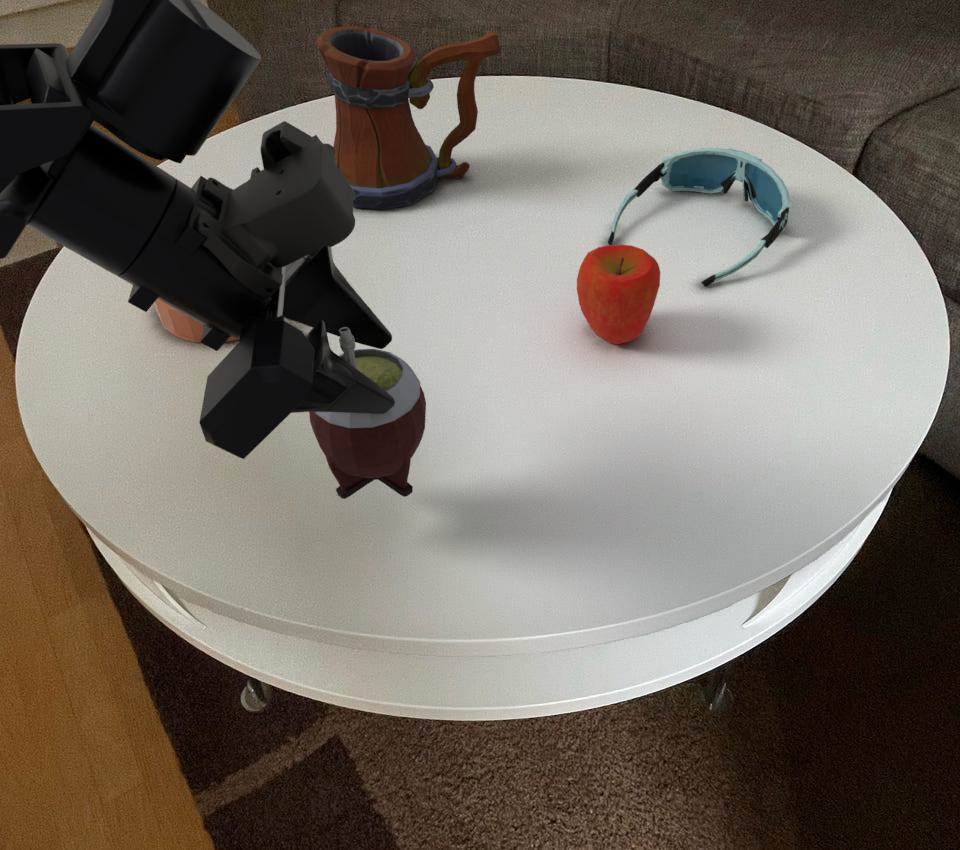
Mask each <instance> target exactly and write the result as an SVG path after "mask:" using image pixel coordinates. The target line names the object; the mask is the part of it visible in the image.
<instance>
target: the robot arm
mask: <svg viewBox="0 0 960 850" xmlns="http://www.w3.org/2000/svg"><path fill="white" fill-rule="evenodd" d="M262 60H263V58H262V56H261V54H260V53H259V52H258V51H257V49H255V47H254V46H253V45H252V44H251V43H250V42H249V41H248V40H247V39H246V38H244V37H243V36H242V35H241V34H240V33H239V31H237V30H236V29H235V28H234V27H232V26H231V25H230V24H229V23H227V22H226V21H225V20H224V19H223V18H222V17H220V16H219V15H218V14H217V13H216V12H214V11H213V10H212V9H210V8H209V7H208V6H206V5H205V4H204V3H203V2H201V0H102V1H101V3H100V5H99V7H98V9H97V10H96V12H95V13H94V14H93V17H92V18H91V20H90V22H89V23H88V25H87V27H86V28H85V30H84V31H83V32H82V34H81V36H80V38H79V39H78V41H77V43H76V44H75V46H74V48H73V49H72V51H71V52H70V53H69V51H68V48H67V47H66V46H65V45H64V44H63V43H57V42H56V43H55V42H54V43H51V42H50V43H46V42H45V43H9V44H5V43H4V44H0V260H3V259H5V258H6V257H7V256H8V255H9V254H10V252H11V251H12V249H13V248H14V246H15V244H16V243H17V241H18V239H19V238H20V237H21V235H22V234H23V232H24V231H25V229H26V227H29V228H31V229H32V230H34V231H36V232H38V233H40V234H41V235H43V236H45V237H47V238H48V239H50V240H52V241H54V242H56V243H58V244H59V245H61V246H63V247H64V248H66V249H68V250H70V251H71V252H73V253H75V254H77V255H78V256H81V257H82V258H84V259H86V260H88V261H89V262H91V263H93V264H94V265H96V266H98V267H99V268H102V269H104V270H105V271H106V272H109V273H110V274H112V275H114V276H116V277H118V278H119V279H121V280H123V281H124V282H127V283H128V284H130V285H132V286H131V290H130V294H129V297H128V300H127V303H128V304H130V305H132V306H134V307H136V308H138V309H139V310H141V311H143V312H145V313H147V312H148V311H149V310H150V308H151V307H152V306H153V305H154V304H153V303H154V302H155V301H156V300H157V299H158V300H160V301H162V302H164V303H166V304H167V305H169V306H171V307H173V308H174V309H176V310H178V311H180V312H182V313H183V314H185V315H187V316H189V317H190V318H192V319H194V320H196V321H198V322H199V323H201V324H203V325H204V326H203V331H202V336H201V341H200V342H201V343H200V344H203V345H204V346H206V347H208V348H210V349H212V350H214V351H216V352H218V351H219V350H220V349H221V348H222V347H223V346H224V344H225V343H227V342H226V341H227V340H228V339H229V338H230V336H232V337H234V338H236V339H237V338H239V337H240V339H238V342H237V343H236V345H235V346H234V347H233V348H232V349H231V350H230V352H228V353H227V355H226V356H224V358H223V359H222V360H221V361H220V362H219V363H218V364H217V365H216V367H214V368H213V370H212V371H211V372H210V373H209V374H208V375H207V376H206V377H207V378H206V383H205V387H204V395H203V399H202V405H201V406H202V407H201V409H200V415H199V416H200V417H199V422H198V423H199V425H200V426H199V427H200V428H201V431H202V434H203V437H204V440H205V442H206V443H208V444H211V445H212V446H214V447H217V448H219V449H221V450H222V451H225V452H227V453H229V454H231V455H233V456H235V457H237V458H239V459H242V460H245V459H246V458H247V457H248V456H249V455H250V454H251V453H252V452H253V451H254V450H255V449H256V448H257V447H258V446H259V445H260V444H261V443H262V442H263V441H264V440H265V439H266V438H267V437H269V435H270V434H271V433H273V432H274V430H275V429H276V428H277V427H278V426H279V425H280V424H281V423H282V422H283V421H285V419H287V418H288V416H290V415H291V414H297V413H309V412H341V413H368V414H385V413H386V412H388V411H389V410H390V409H391V408H392V407H393V406H394V405H395V399H394V398H393V397H392V396H391V395H390V394H389V393H387V392H386V391H385V390H384V389H383V388H382V387H380V386H379V385H378V384H377V383H375V382H374V381H373V380H371V379H370V378H368V377H367V376H366V375H364V374H363V373H361V372H360V371H359V370H357V369H356V368H355V367H353V366H352V365H350V364H349V363H348V362H346V361H345V360H344V359H342V358H341V357H339V355H338V354H336V353H335V351H333V350H332V348H331V346H330V342H329V337H328V334H330V335H334V336H336V337H339V338H340V332H339V329H340V328H343V327H348V328H349V329H350V331H351V333H352V335H353V337H354V339H355V344H356V343H357V344H360V345H362V346H363V345H364V346H366V347H367V346H368V347H371V348H374V349H378V350H383V349H385V348H386V347H388V345H389V344H390V343H392V341H393V335H392V333H391V332H390V331H389V329H388V328H387V326H386V325H385V324H384V323H383V322H382V321H381V320H380V318H379V317H378V316H377V315H376V314H375V313H374V312H373V310H372V308H370V307H369V305H368V304H367V303H366V302H365V301H364V300H363V298H362V297H361V296H360V295H359V294H358V293H357V291H356V290H355V289H354V287H353V286H352V285H351V284H350V283H349V281H348V280H347V278H346V277H345V276H344V275H343V273H342V272H341V271H340V269H339V268H338V267H337V265H336V264H335V261H334V256H333V249H332V247H335V246H337V245H338V244H340V243H342V242H343V241H345V240H346V239H347V238H348V237H349V236H350V235H351V234H352V233H353V232H354V229H355V226H356V217H355V215H354V206H353V200H354V199H355V192H354V190H353V189H352V187H351V186H350V184H349V183H348V182H347V180H346V179H345V177H344V176H343V174H342V173H341V171H340V170H339V169H338V167H337V166H336V164H335V149H334V147H333V146H334V145H332V144H329V143H323V142H322V140H321V139H320V137H318V135H317V134H314V135H313V136H311V135H310V134H308V133H307V132H305V131H303V130H302V129H300V128H298V127H297V126H294V125H292V123H289V122H288V121H286V120H285V121H281V122H279V123H277V124H276V125H274V126H273V127H270V128H269V129H267V130H266V131H264V132H263V133H262V137H261V141H260V142H261V143H260V156H261V162H262V168H263V169H260V168H259V167H258V166H257V167H255V168H253V169H252V170H251V171H250V177H249V179H248V180H247V181H245V182H243V183H241V184H240V185H239V186H237V187H235V188H231V187H229V186H227V185H225V184H223V182H221V181H220V180H217V179H216V178H214V177H208V178H206V177H204V176H203V175H200V176H199V177H198V178H197V180H196V181H195V182H194V184H193V185H192V186H191V187H190V186H188V184H185V183H184V182H182V181H181V180H179V179H177V178H176V177H174V176H172V175H171V174H170V173H168V172H167V171H166V170H164V169H162V168H160V167H159V166H157V165H156V164H154V163H153V162H151V161H150V160H148V159H146V158H145V157H144V156H146V157H148V158H151V159H154V160H156V161H157V160H158V161H165V160H166V159H167V160H169V161H171V162H174V163H176V164H182V163H183V161H184V160H185V158H186V157H187V156H190V157H191V156H192V157H194V156H196V155H197V154H198V153H199V151H200V150H201V148H202V147H203V145H204V144H205V142H206V141H207V139H208V138H209V136H210V135H211V134H212V132H213V131H214V129H215V128H216V127H217V125H218V123H219V122H220V121H221V119H222V118H223V116H224V115H225V113H226V112H227V110H228V109H229V107H230V106H231V105H232V103H233V102H234V100H235V99H236V97H238V94H239V93H240V92H241V90H242V88H244V86H245V84H246V83H247V81H248V80H249V78H250V77H251V75H252V74H253V72H254V71H255V70H256V68H257V67H258V65H259V64H260V62H262ZM29 99H30V103H21V102H24V101H27V100H29ZM20 103H21V104H20ZM94 122H95V123H97V124H98V125H100V126H101V127H103V128H104V129H106V130H107V131H108V132H110V133H111V134H112V135H114V136H115V137H116V138H117V139H119V140H120V141H121V142H120V141H119V140H117V139H115V138H114V137H113V136H112V135H109V134H108V133H106V132H105V131H103V130H102V129H101V128H99V127H97V126H95V124H93V123H94ZM122 142H123V143H122ZM125 144H126V145H127V146H126V145H125ZM128 146H129V147H128ZM133 149H134V150H135V151H137V152H139V153H140V154H142V155H144V156H142V155H140V154H139V153H137V152H135V151H134V150H133ZM290 321H293V322H296V323H299V324H302V325H305V326H308V327H310V328H311V330H310V331H308V332H306V331H304V330H302V329H301V328H299V327H297V326H296V325H294V324H293V323H291V322H290Z"/></svg>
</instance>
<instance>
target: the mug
mask: <svg viewBox="0 0 960 850" xmlns="http://www.w3.org/2000/svg"><path fill="white" fill-rule="evenodd" d="M315 42H316V45H317V48H318V51H319V52H320V54H321V56H322V58H323V60H324V61H325V64H326V66H327V68H328V70H327V75H326V79H327V82H328V84H329V86H330V88H331V90H332V91H333V93H334V103H335V121H336V122H335V126H336V127H335V134H334V141H333V145H332V146H333V147H334V149H335V164H336V166H337V167H338V169H339V170H340V171H341V173H342V174H343V176H344V177H345V179H346V180H347V182H348V183H349V184H350V186H351V187H352V189H353V190H354V192H355V199H354V200H353V208H356V209H370V210H371V209H373V210H387V209H394V208H398V207H399V208H400V207H405V206H410V205H411V206H412V205H413V204H415V203H416V202H418V201H420V200H421V199H423V198H424V197H425V196H427V195H429V194H431V193H432V192H434V191H435V189H436V186H437V184H438V181H439V179H441V178H443V179H450V180H451V179H460V178H464V177H465V175H466V174H467V172H468V171H469V169H470V166H471V165H470V163H469V162H467V161H463V162H461V163H460V164H457V162H456V160H455V158H453V157H452V152H453V149H455V147H456V146H458V145H460V144H461V143H462V142H463V141H464V140H466V139H467V138H468V137H469V136H470V135H471V134H472V133H473V132H474V131H475V130H476V127H477V121H478V113H479V109H478V105H477V100H476V93H475V81H476V78H477V75H478V71H479V69H480V66H481V63H482V61H483V60H484V59H486V58H488V57H494V56H496V55H499V54H500V53H501V51H502V48H501V45H500V39H499V36H498V33H497V31H494V30H492V31H490V32H488V33H486V34H485V35H483V36H481V37H478V38H474V39H471V40H467V41H463V42H454V43H449V44H444V45H441V46H438V47H436V48H435V49H433V50H431V51H428V52H427V53H426V54H424V55H423V56H422V57H420V58H419V60H418V61H417V62H416V63H415V64H414V61H415V59H416V54H415V52H414V48H413V47H412V46H410V44H409V43H408V42H406V41H404V40H402V39H400V38H399V37H396V36H394V35H393V34H390V33H387V32H384V31H381V30H378V29H375V28H367V27H363V26H356V25H355V26H353V25H344V26H338V27H332V28H330V29H328V30H326V31H324V32H323V33H322V34H321V35H319V37H317V38H316V39H315ZM457 61H465V66H464V67H463V70H462V72H461V74H460V78H459V80H458V84H457V90H456V103H457V105H456V106H457V111H458V118H459V123H458V125H456V126H455V127H454V128H453V129H452V130H451V131H450V132H449V133H448V134H447V136H446V137H445V138H444V140H443V142H442V144H441V146H440V148H439V151H438V156H437V155H436V153H435V152H434V150H433V148H432V147H431V145H428V144H426V143H425V141H424V139H423V137H422V135H421V133H420V132H419V130H418V128H417V126H416V123H415V121H414V119H413V114H412V111H411V109H412V108H411V106H410V105H412V106H413V107H415V108H416V109H418V110H424V108H425V107H426V106H427V105H428V103H429V101H430V98H431V93H432V91H433V89H434V83H433V81H432V80H431V78H430V77H429V75H430V73H431V71H432V70H433V69H434V68H437V67H439V66H441V65H444V64H448V63H453V62H457ZM413 65H414V66H413ZM412 66H413V67H412Z"/></svg>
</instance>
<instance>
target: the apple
mask: <svg viewBox="0 0 960 850" xmlns="http://www.w3.org/2000/svg"><path fill="white" fill-rule="evenodd" d="M582 260H583V261H582V262H581V264H580V266H579V269H578V274H577V277H576V292H577V293H576V294H577V299H578V304H579V307H580V310H581V313H582V315H583V316H584V318H585V320H586V322H587V323H588V325H589V327H590V328H591V329H592V331H593V332H594V334H595V335H596V336H598V337H599V338H600V339H602V340H604V341H606V342H608V343H611V344H616V345H621V344H626V343H629V342H632V341H633V340H635V339H637V338H638V337H639V336H640V335H642V332H643V331H644V329H645V327H646V325H647V324H648V321H650V318H651V314H652V312H653V310H654V309H653V308H654V306H655V304H656V299H657V296H658V293H659V289H660V286H661V269H660V266H659V263H658V261H657V260H656V258H655V257H654V256H652V255H651V254H650V253H648V252H647V251H646V250H644V249H643V248H641V247H637V246H634V245H630V244H612V245H609V244H608V245H602V246H598V247H596V248H594V249H592V250H590V251H588V252H587V253H586V255H585V256H584V258H583V259H582Z"/></svg>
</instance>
